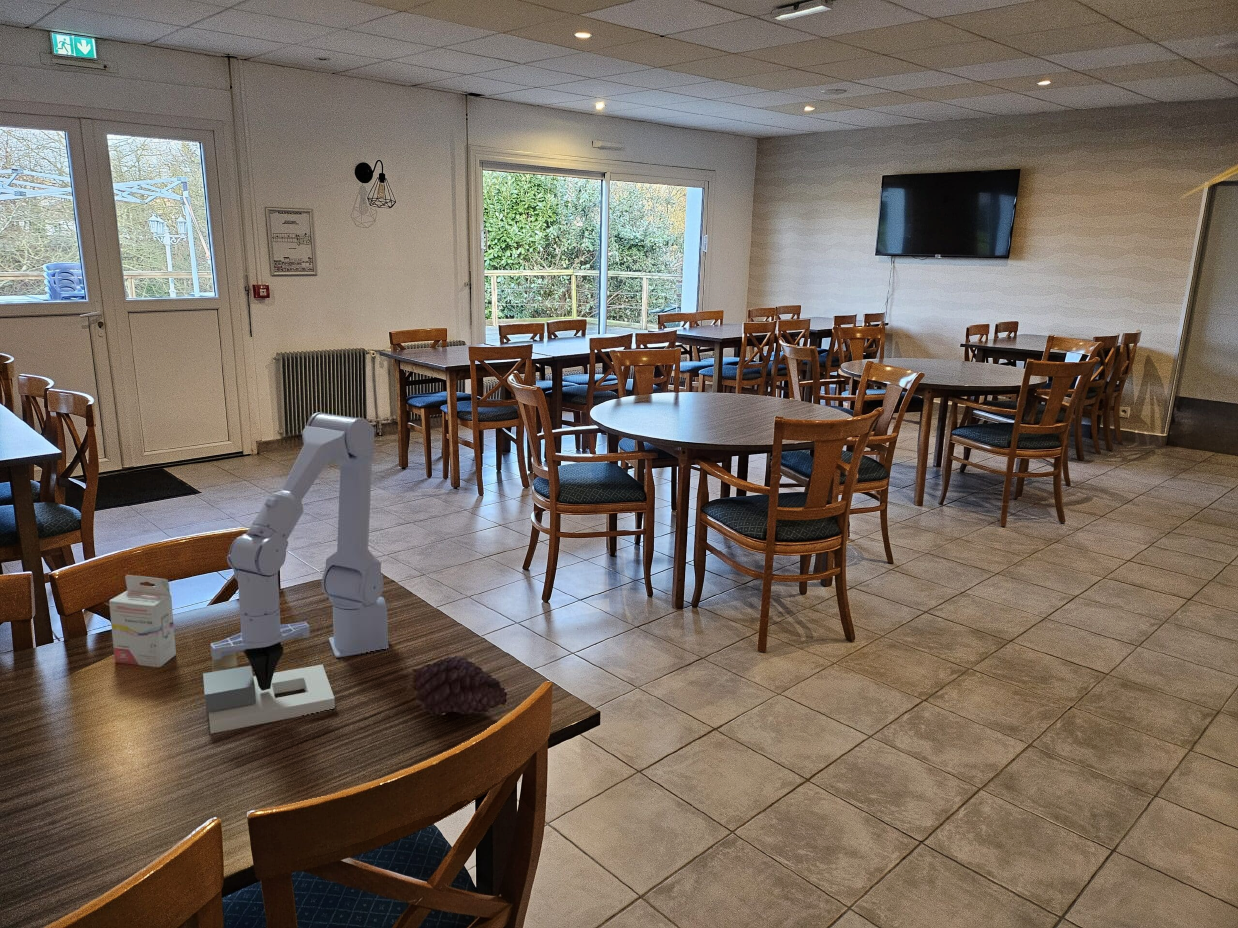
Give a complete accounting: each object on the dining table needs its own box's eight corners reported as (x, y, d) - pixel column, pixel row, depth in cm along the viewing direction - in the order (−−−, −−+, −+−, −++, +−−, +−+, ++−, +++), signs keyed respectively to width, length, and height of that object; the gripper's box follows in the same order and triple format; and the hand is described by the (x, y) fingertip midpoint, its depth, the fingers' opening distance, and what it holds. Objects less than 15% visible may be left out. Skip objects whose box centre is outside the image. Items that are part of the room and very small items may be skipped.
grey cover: (251, 682, 137) (250, 665, 136) (256, 702, 131) (254, 685, 130) (204, 690, 134) (202, 673, 133) (206, 712, 128) (204, 694, 127)
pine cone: (518, 712, 137) (519, 657, 134) (488, 744, 128) (489, 685, 125) (424, 689, 142) (423, 635, 140) (389, 718, 133) (388, 660, 131)
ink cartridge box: (113, 663, 145) (104, 584, 141) (132, 650, 150) (124, 573, 146) (160, 668, 144) (152, 588, 141) (177, 654, 149) (171, 577, 145)
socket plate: (322, 674, 145) (322, 664, 144) (334, 709, 135) (334, 698, 134) (207, 695, 137) (206, 684, 136) (210, 733, 126) (209, 721, 126)
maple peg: (236, 671, 145) (234, 639, 143) (237, 680, 142) (235, 648, 140) (213, 675, 143) (210, 642, 142) (214, 685, 140) (211, 652, 138)
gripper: (297, 590, 139) (301, 664, 142) (202, 610, 130) (208, 689, 133) (313, 605, 133) (316, 682, 137) (215, 626, 124) (221, 708, 128)
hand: (264, 686), depth 135 cm, fingers closed
